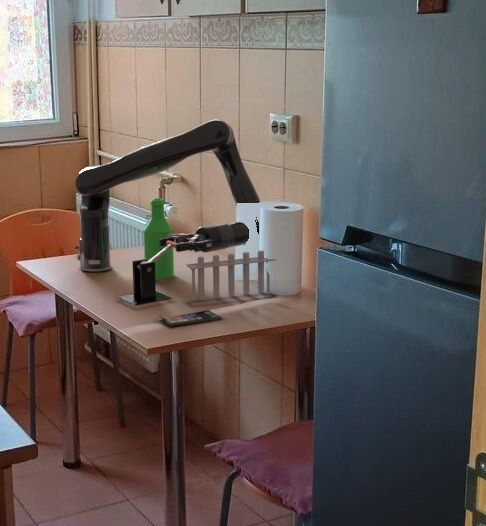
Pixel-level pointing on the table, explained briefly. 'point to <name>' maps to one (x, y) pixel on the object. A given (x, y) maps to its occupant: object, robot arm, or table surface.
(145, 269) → the bracket
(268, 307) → the table surface
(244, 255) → the test tube rack
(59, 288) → the table surface
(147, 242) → the bottle
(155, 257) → the lever
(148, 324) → the table surface
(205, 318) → the smartphone
